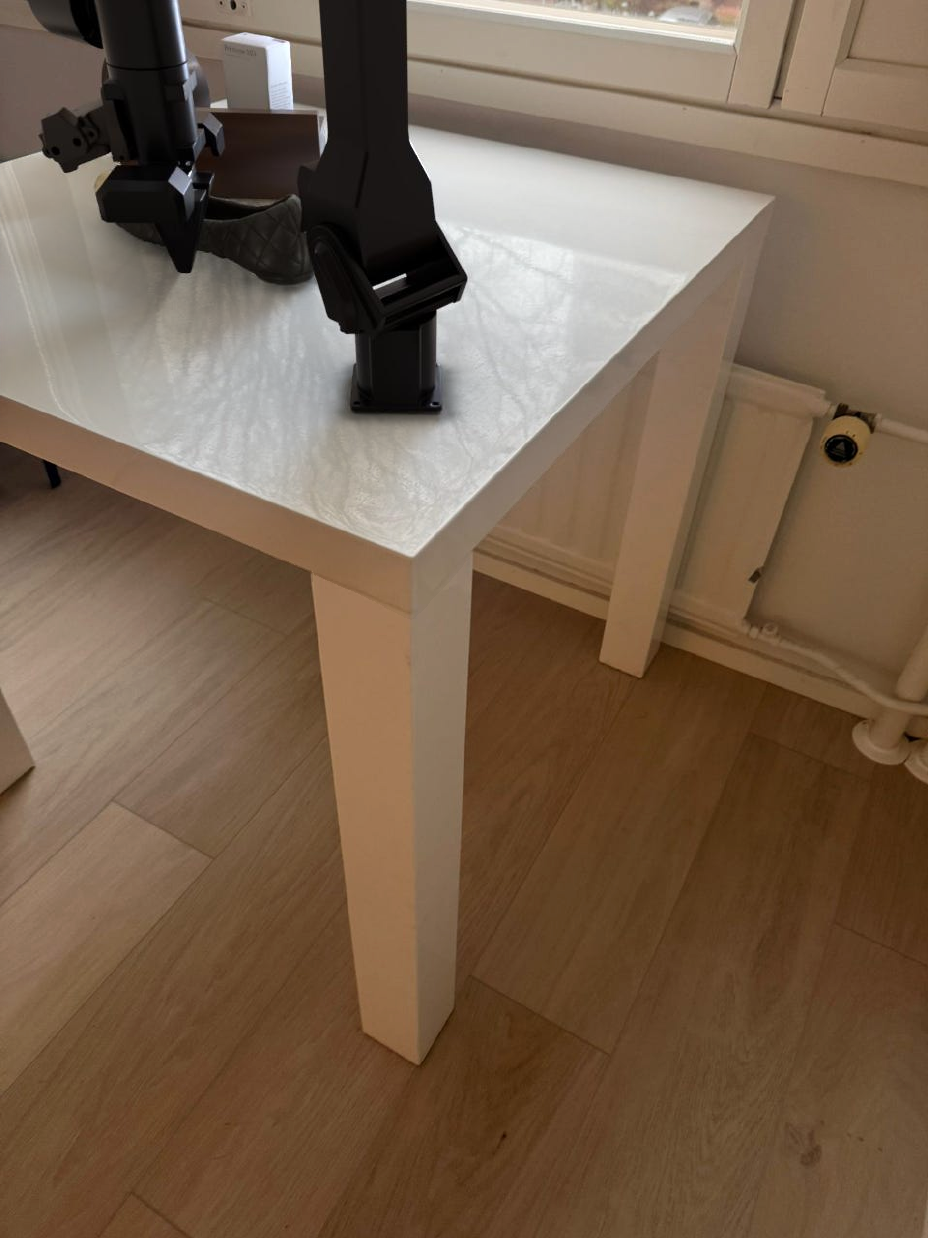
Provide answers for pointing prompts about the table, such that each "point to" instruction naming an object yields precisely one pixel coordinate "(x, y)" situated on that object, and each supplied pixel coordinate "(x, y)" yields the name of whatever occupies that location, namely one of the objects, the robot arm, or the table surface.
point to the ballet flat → (247, 237)
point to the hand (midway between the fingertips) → (185, 271)
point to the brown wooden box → (261, 151)
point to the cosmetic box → (257, 72)
